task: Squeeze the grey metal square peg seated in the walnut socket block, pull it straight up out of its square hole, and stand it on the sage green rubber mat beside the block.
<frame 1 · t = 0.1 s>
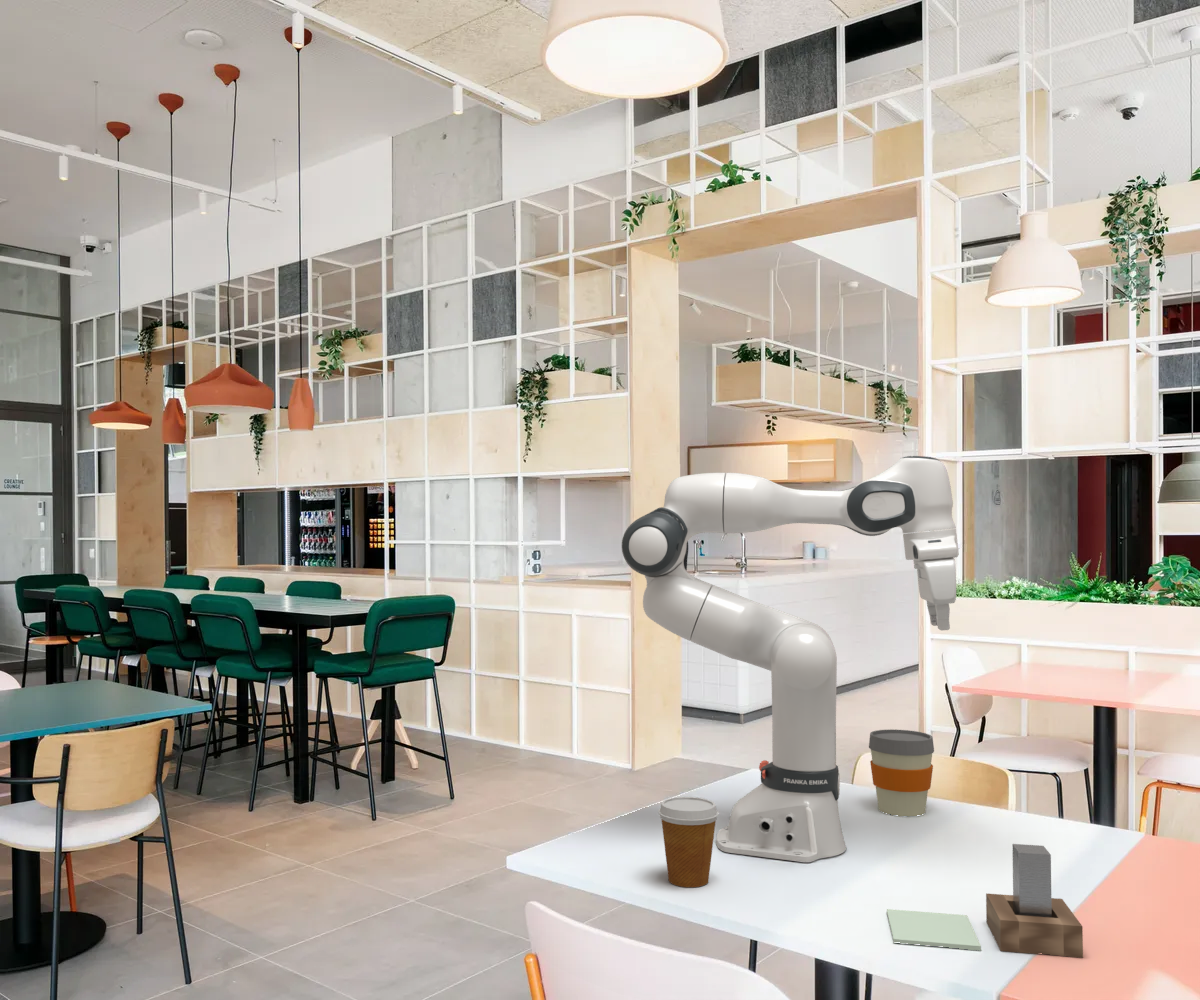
hand: (940, 627, 170), 39 cm above the table, tool pointing down, fingers open, 8 cm apart
mat: (931, 931, 135), on the table
socket block: (1032, 939, 132), on the table
reusable coffee cup: (901, 811, 196), on the table
disposable coffee cup: (688, 882, 155), on the table
peg: (1031, 894, 133), in the socket block
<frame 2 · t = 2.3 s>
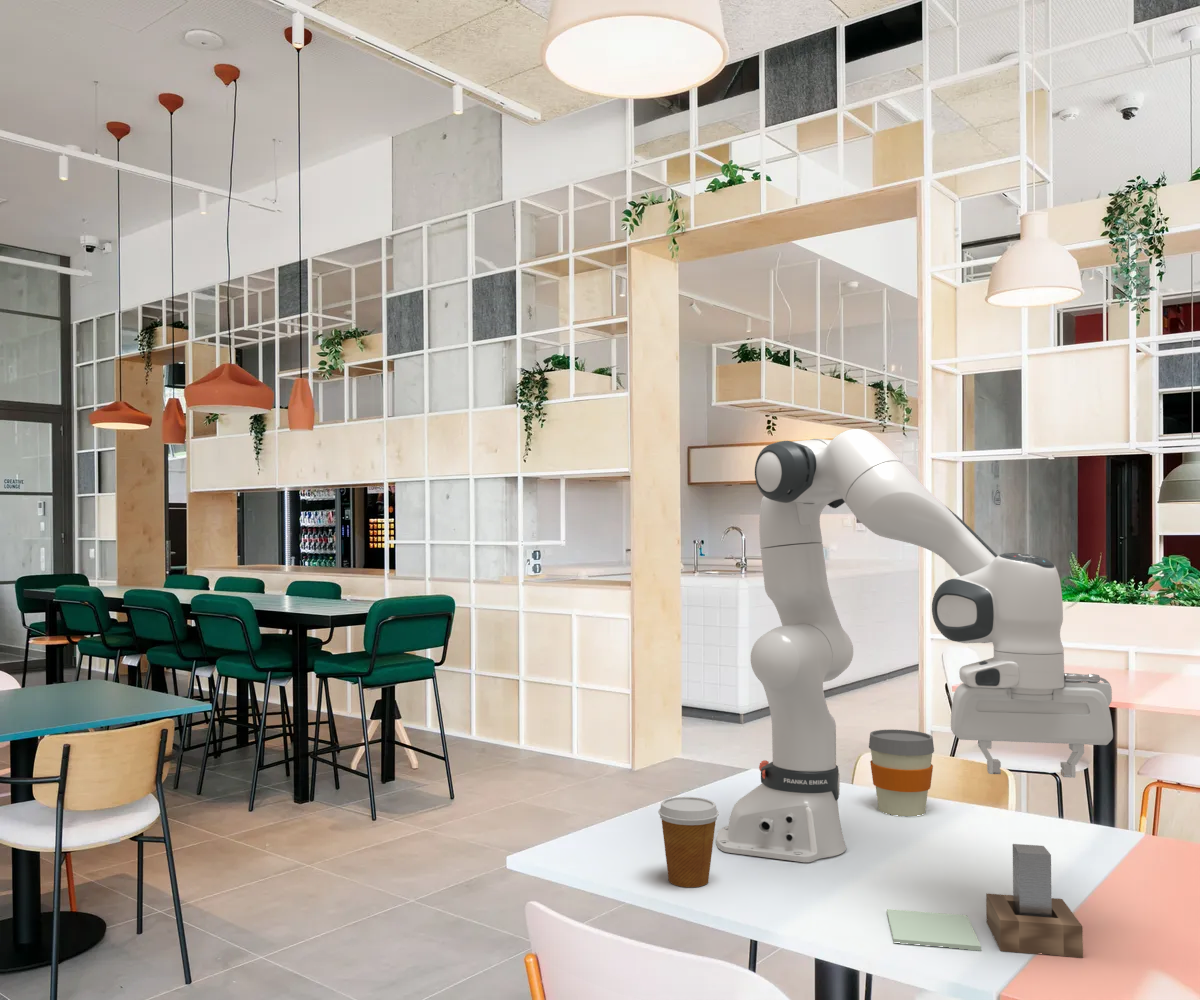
hand: (1030, 775, 133), 22 cm above the table, tool pointing down, fingers open, 8 cm apart
nothing on the table moved.
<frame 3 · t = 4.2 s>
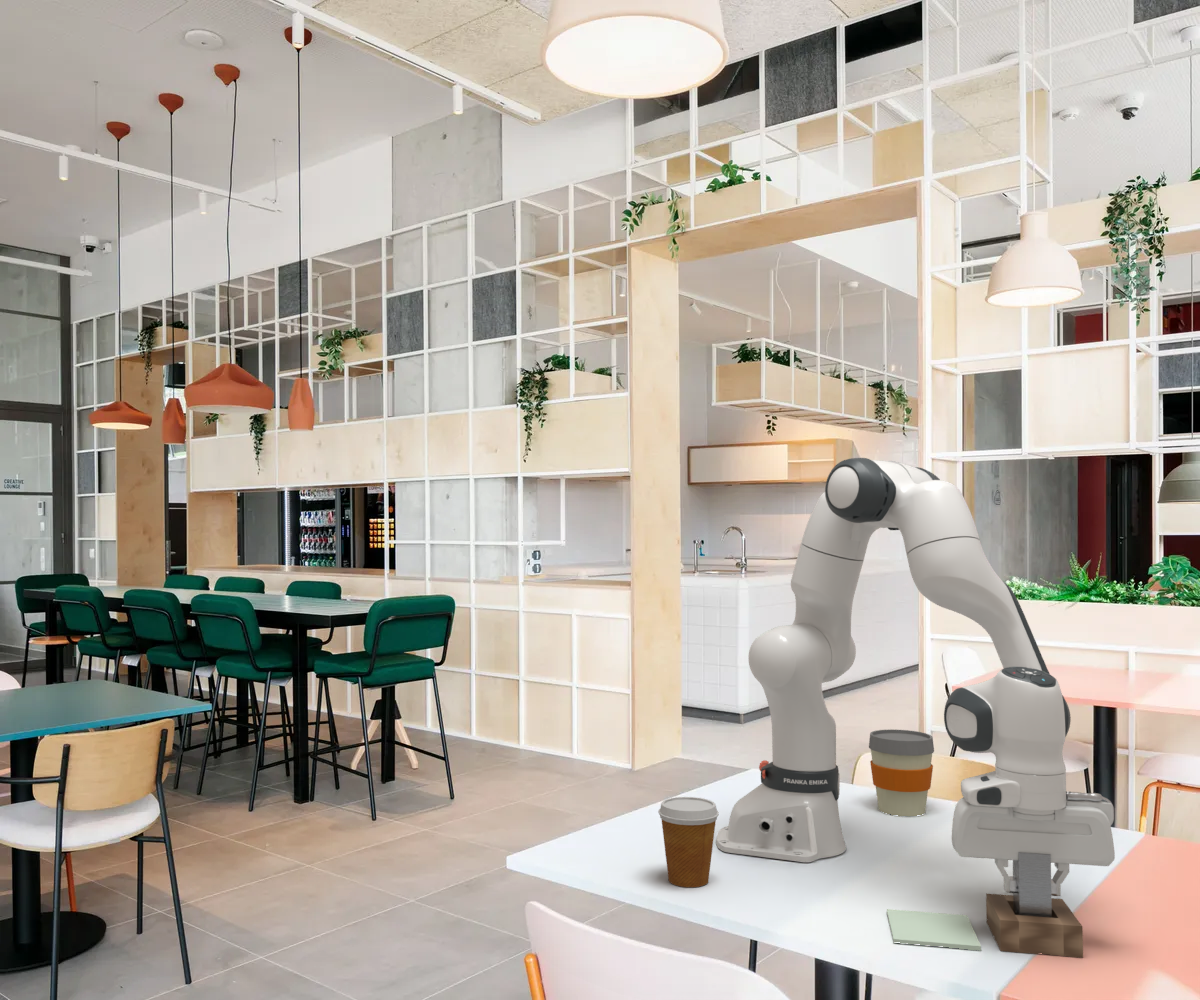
hand: (1031, 893, 133), 6 cm above the table, tool pointing down, fingers closed on peg, 4 cm apart
peg: (1031, 894, 133), in the socket block, touching gripper
everything else where it was.
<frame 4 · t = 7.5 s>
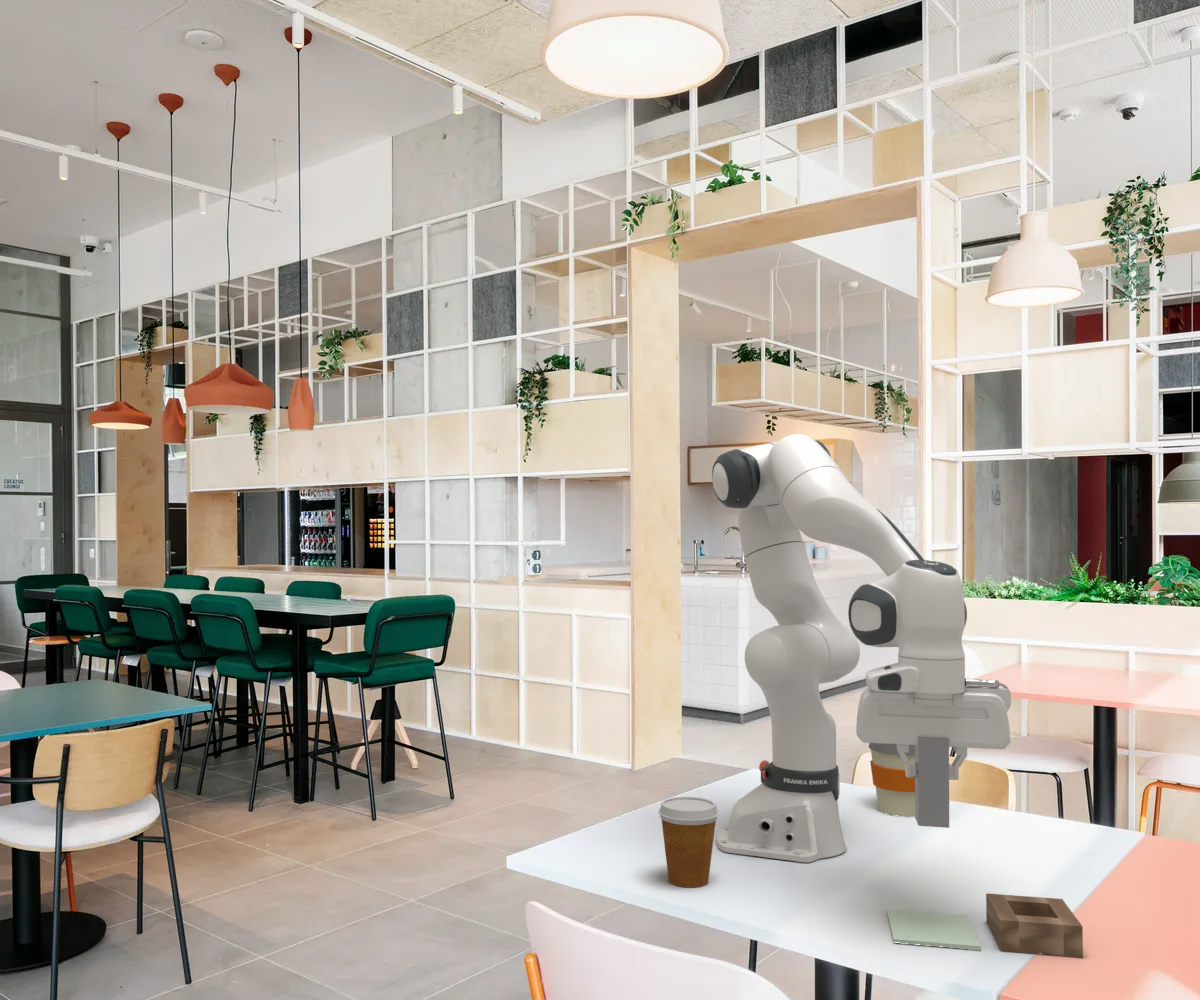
hand: (931, 777, 136), 21 cm above the table, tool pointing down, fingers closed on peg, 4 cm apart
peg: (931, 778, 136), point 21 cm above the table, touching gripper
everything else where it was.
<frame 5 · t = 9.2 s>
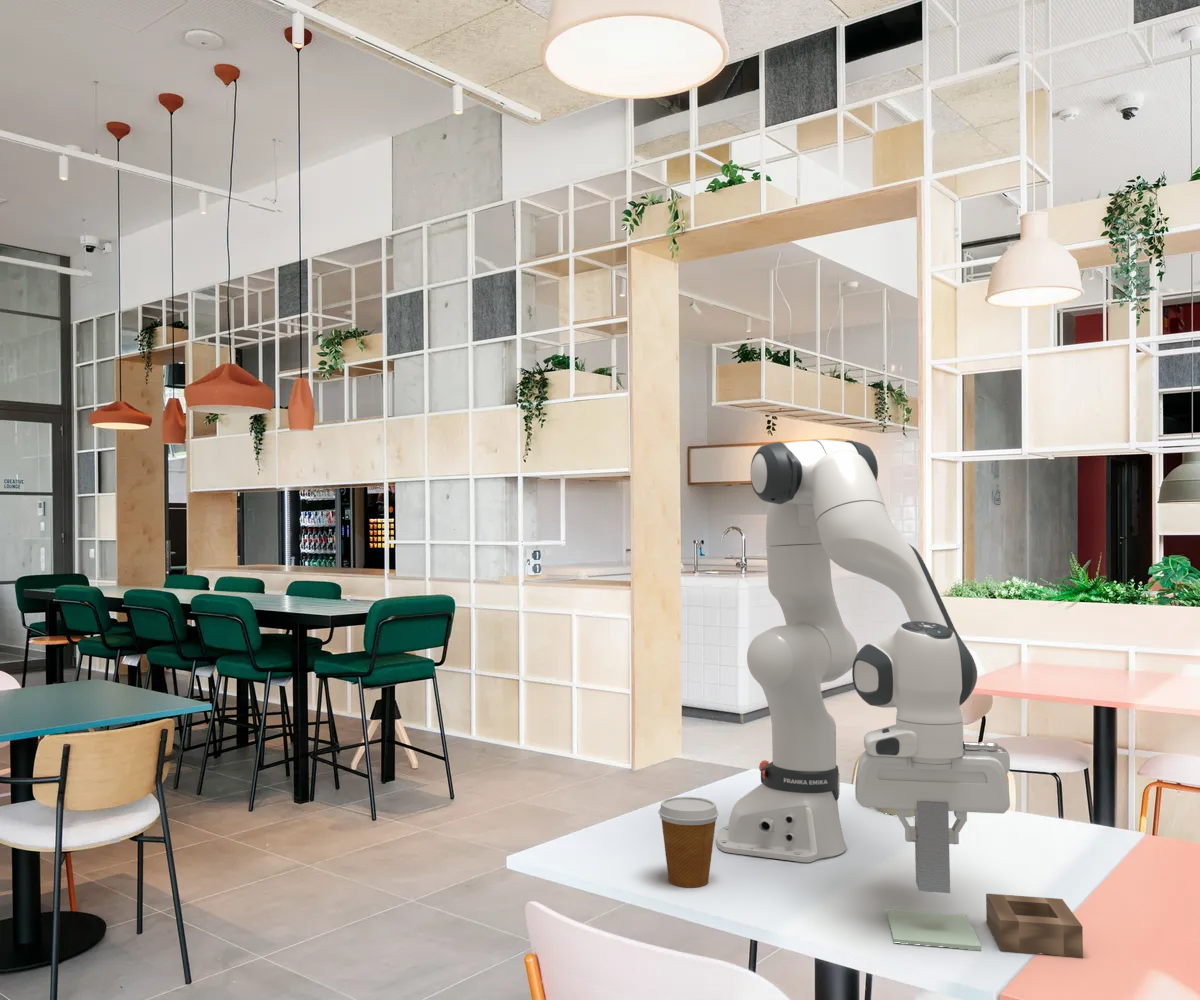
hand: (931, 842, 135), 12 cm above the table, tool pointing down, fingers closed on peg, 4 cm apart
peg: (931, 842, 135), point 12 cm above the table, touching gripper
everything else where it was.
when the fingers open (8 cm above the table, at t = 10.8 s): peg stays where it is, resting on mat.
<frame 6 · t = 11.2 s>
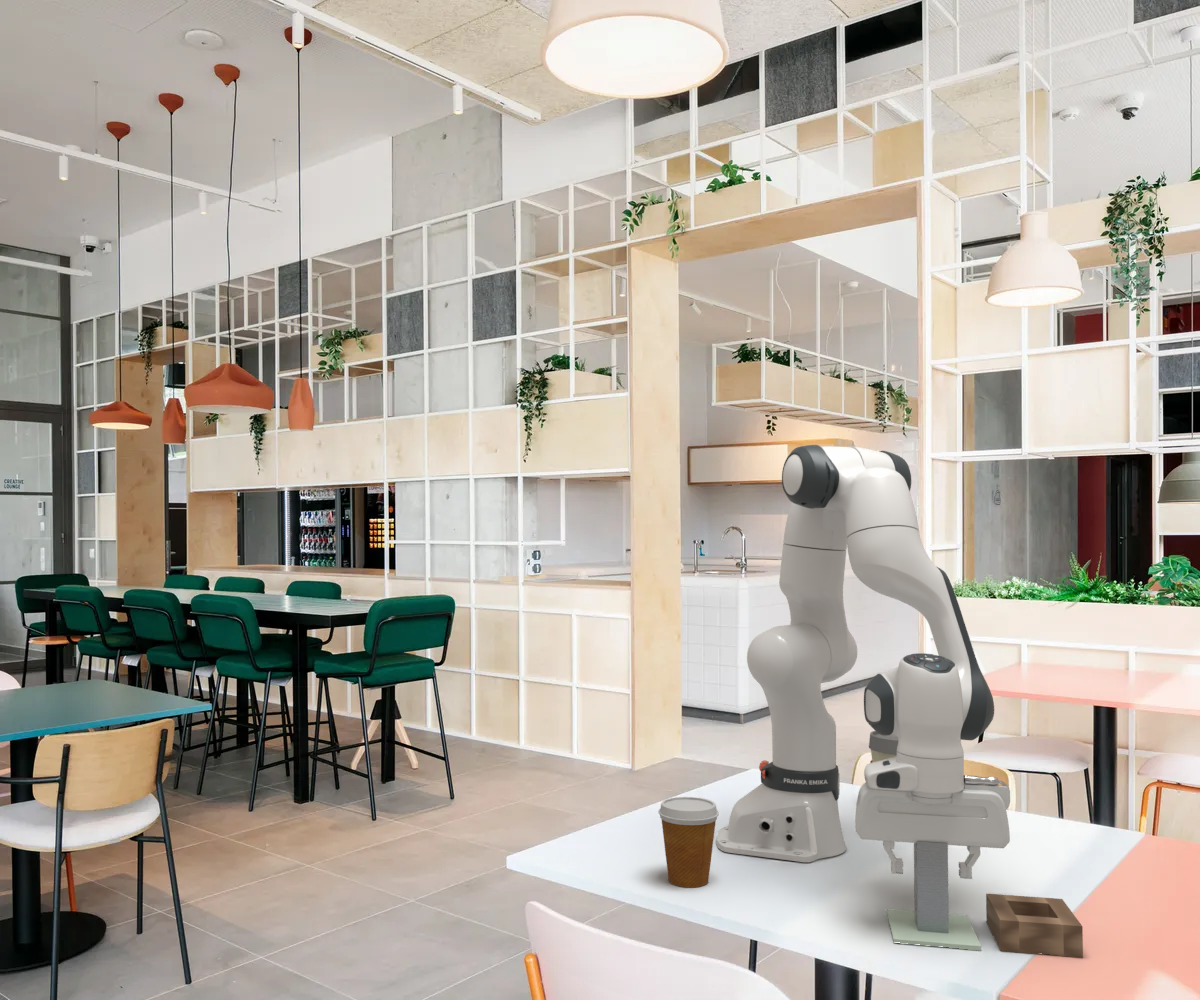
hand: (930, 875, 135), 8 cm above the table, tool pointing down, fingers open, 8 cm apart
peg: (930, 882, 135), on the mat, point 7 cm above the table
everything else where it was.
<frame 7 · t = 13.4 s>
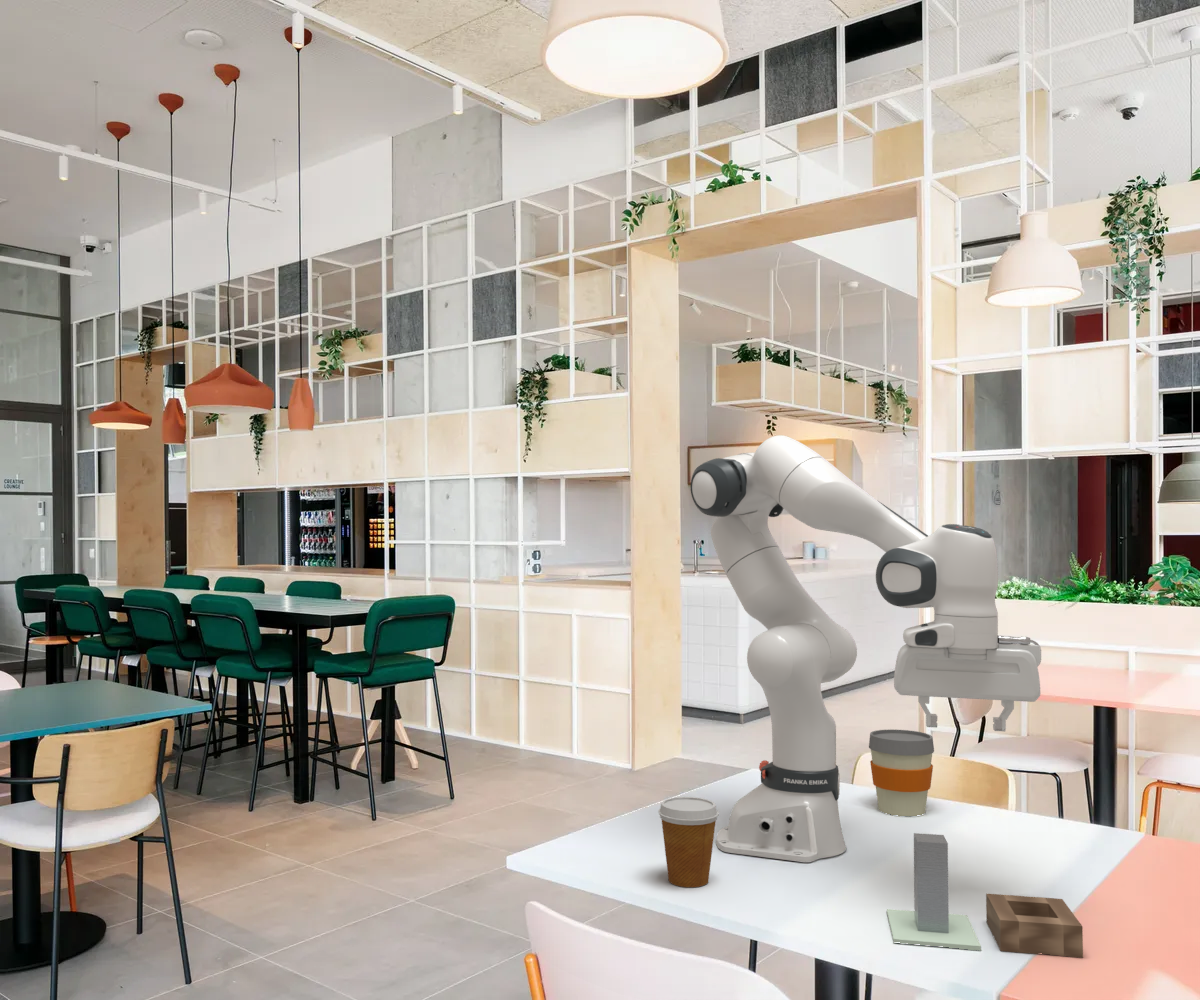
hand: (965, 728, 144), 26 cm above the table, tool pointing down, fingers open, 8 cm apart
nothing on the table moved.
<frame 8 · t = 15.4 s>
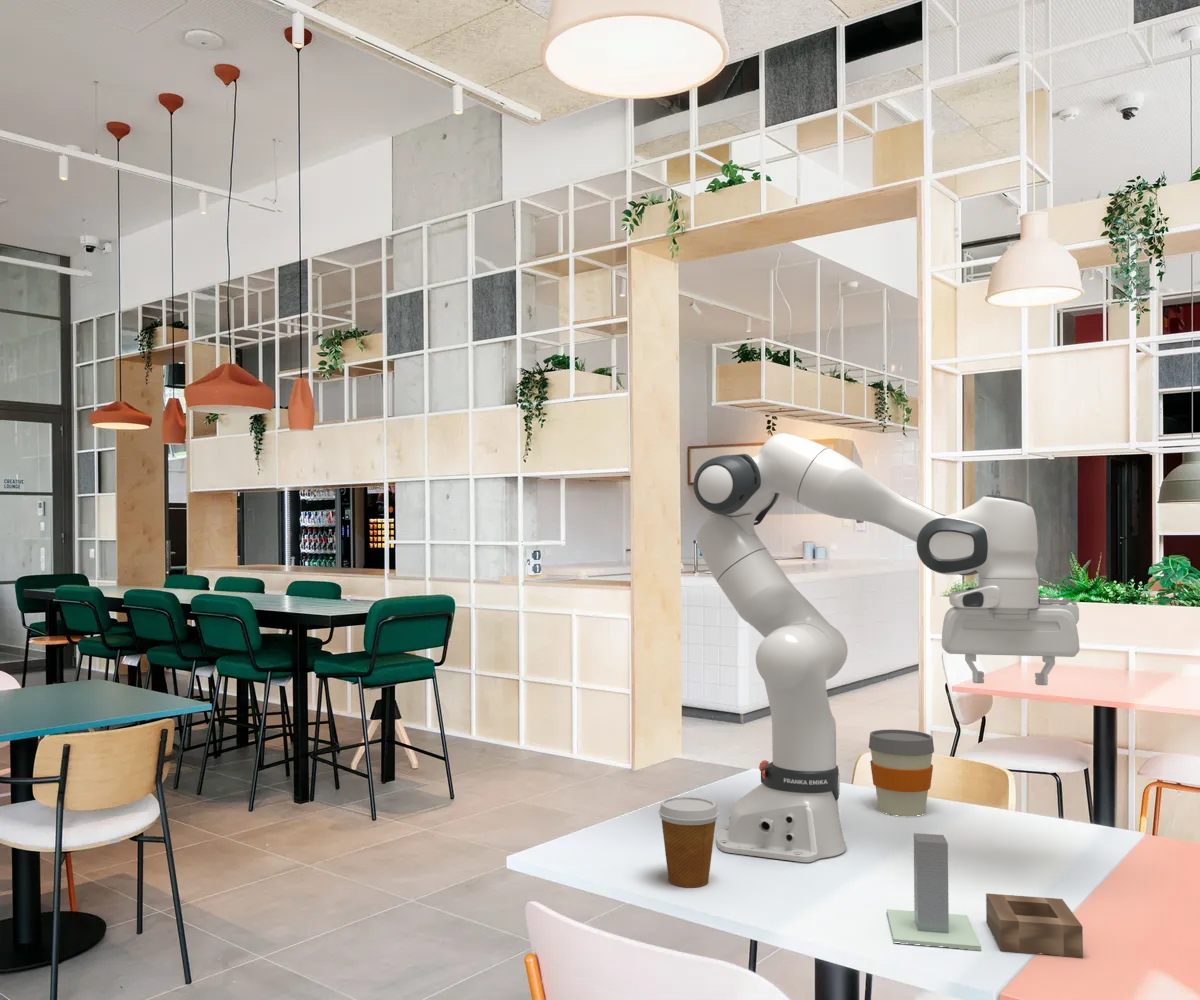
hand: (1009, 683, 156), 31 cm above the table, tool pointing down, fingers open, 8 cm apart
nothing on the table moved.
at the end: peg inside the target area on the mat (0.0 cm from its centre), point 6.6 cm above the mat's base; peg tilted 0°; the gripper is holding nothing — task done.
